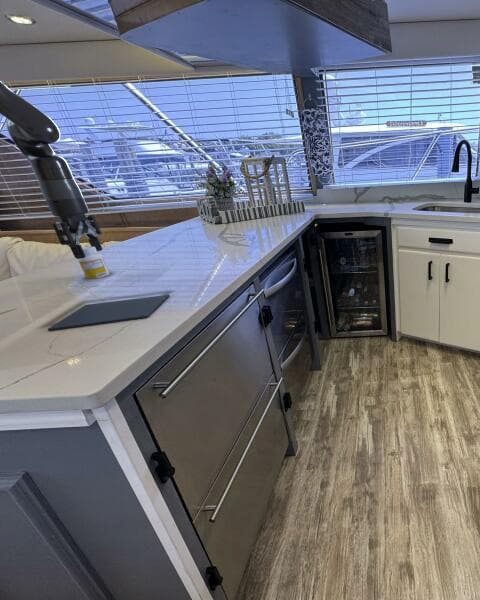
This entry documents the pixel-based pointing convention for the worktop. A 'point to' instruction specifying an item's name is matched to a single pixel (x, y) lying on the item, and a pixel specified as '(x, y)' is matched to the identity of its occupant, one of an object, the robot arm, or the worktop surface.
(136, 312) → the rubber mat
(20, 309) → the worktop surface
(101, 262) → the supplement bottle
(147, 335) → the worktop surface
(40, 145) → the robot arm
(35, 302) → the worktop surface
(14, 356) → the worktop surface
